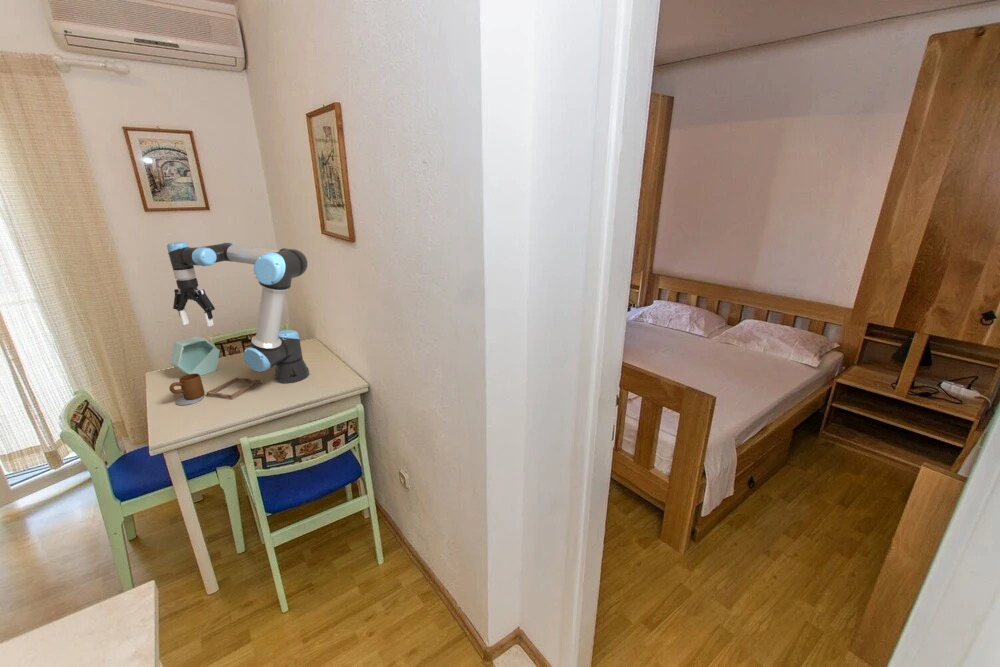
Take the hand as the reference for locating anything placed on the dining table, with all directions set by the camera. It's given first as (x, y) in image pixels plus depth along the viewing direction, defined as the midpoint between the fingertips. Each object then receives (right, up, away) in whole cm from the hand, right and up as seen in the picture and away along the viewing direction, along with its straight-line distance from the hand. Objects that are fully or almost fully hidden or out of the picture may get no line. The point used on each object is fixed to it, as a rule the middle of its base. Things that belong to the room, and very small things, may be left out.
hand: (198, 325), depth 196 cm
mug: (+2, -32, -8) cm, 33 cm away
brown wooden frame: (+16, -29, +1) cm, 33 cm away
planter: (-13, -24, +20) cm, 33 cm away
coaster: (+2, -33, -8) cm, 34 cm away
